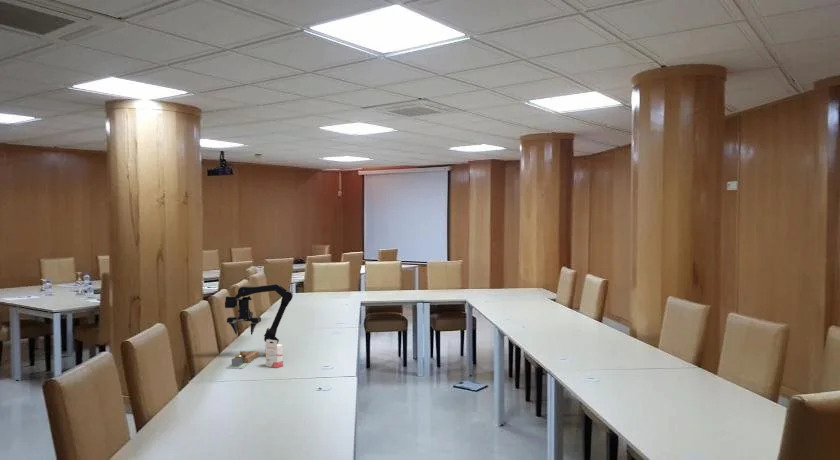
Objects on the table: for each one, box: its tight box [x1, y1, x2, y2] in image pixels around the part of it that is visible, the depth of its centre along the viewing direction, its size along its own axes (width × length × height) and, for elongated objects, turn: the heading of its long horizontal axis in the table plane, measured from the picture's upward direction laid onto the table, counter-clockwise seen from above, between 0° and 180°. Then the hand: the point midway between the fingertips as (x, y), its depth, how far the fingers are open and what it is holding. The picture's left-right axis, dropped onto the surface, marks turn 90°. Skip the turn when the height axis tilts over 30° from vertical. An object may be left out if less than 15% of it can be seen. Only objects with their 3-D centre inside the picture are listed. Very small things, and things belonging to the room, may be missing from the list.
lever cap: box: [231, 354, 243, 367], centre depth 310 cm, size 4×6×5 cm, turn 175°
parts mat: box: [225, 363, 250, 370], centre depth 310 cm, size 9×9×1 cm
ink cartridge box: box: [265, 339, 284, 369], centre depth 310 cm, size 9×5×15 cm, turn 62°
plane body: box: [239, 350, 260, 364], centre depth 324 cm, size 7×16×6 cm, turn 175°
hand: (244, 334), depth 332 cm, fingers open, 9 cm apart
